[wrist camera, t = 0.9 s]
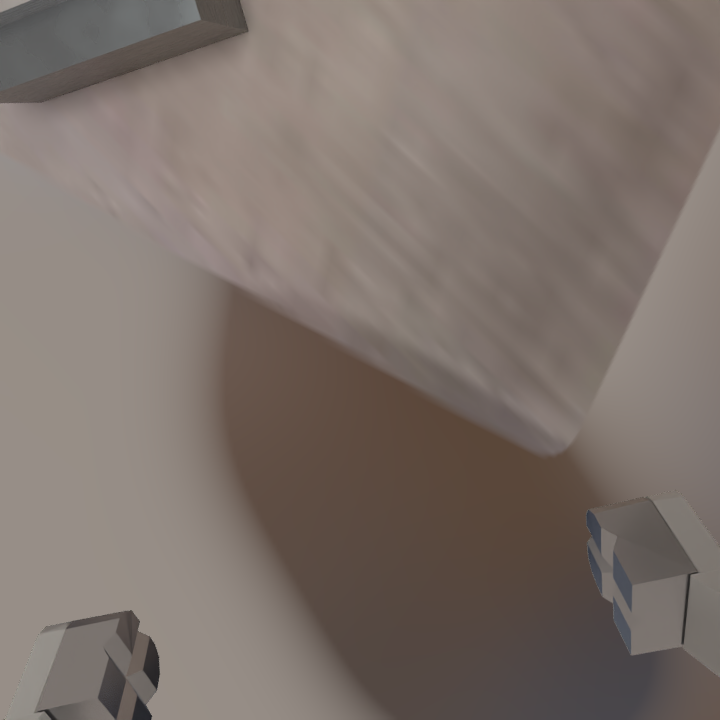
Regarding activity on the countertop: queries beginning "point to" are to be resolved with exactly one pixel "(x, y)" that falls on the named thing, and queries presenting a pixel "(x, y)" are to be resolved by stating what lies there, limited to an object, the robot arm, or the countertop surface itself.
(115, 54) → the gearbox housing
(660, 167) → the countertop surface
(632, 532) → the robot arm
